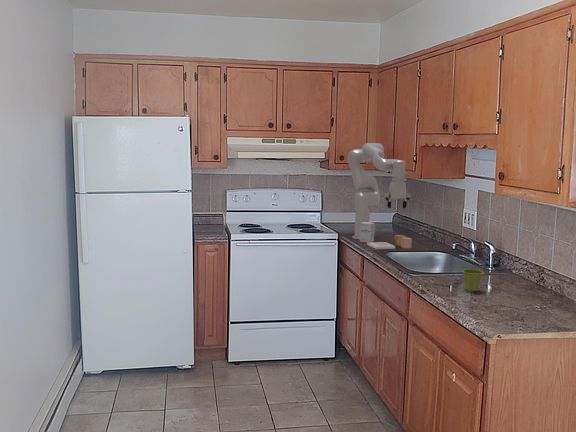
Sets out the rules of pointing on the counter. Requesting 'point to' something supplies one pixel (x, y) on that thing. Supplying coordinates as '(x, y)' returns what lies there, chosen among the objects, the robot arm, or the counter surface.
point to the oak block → (398, 239)
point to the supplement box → (367, 232)
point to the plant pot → (472, 279)
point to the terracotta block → (406, 242)
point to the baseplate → (381, 245)
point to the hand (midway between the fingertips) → (396, 208)
